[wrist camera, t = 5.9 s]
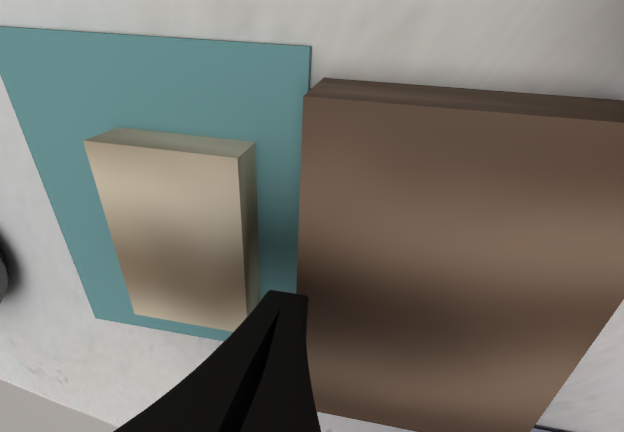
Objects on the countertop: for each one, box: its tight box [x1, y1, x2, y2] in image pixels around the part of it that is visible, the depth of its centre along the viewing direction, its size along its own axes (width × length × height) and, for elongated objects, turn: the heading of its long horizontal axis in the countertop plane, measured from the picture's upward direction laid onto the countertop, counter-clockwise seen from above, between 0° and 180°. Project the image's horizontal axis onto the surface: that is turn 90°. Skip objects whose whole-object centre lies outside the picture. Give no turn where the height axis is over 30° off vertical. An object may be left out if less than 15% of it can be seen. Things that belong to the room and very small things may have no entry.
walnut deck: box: [296, 78, 624, 432], centre depth 13 cm, size 14×10×4 cm
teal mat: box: [0, 26, 312, 341], centre depth 16 cm, size 16×13×1 cm
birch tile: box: [83, 127, 260, 332], centre depth 15 cm, size 9×6×2 cm, turn 177°
